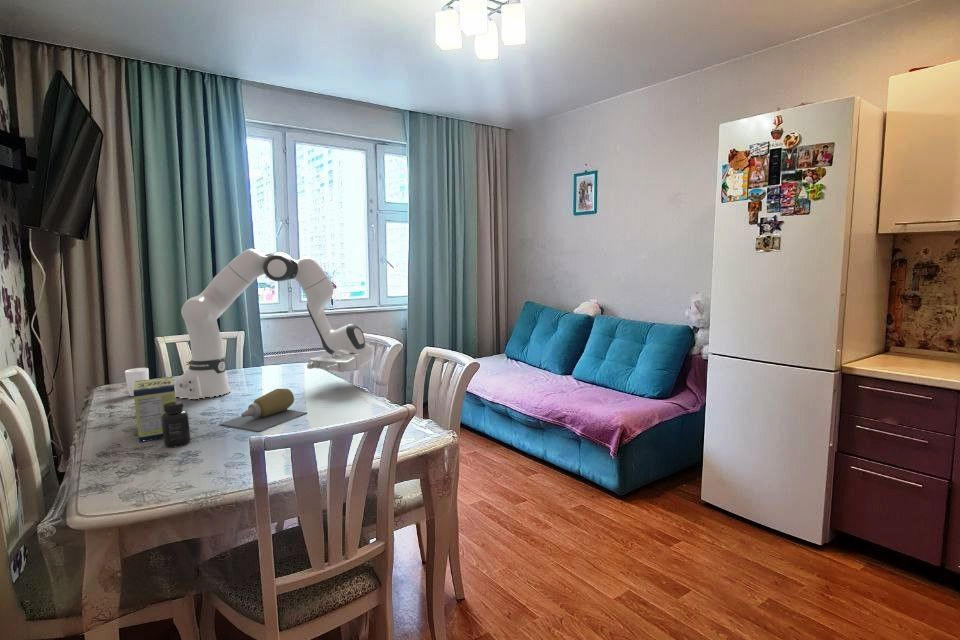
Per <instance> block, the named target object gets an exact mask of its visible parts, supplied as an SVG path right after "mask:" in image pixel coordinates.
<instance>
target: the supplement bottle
mask: <svg viewBox="0 0 960 640" xmlns="http://www.w3.org/2000/svg"><path fill="white" fill-rule="evenodd" d="M184 409H185V408H184V402H183V401H180V400H179V401H176V402H170V403H167V404H165V405H164V412H165V413H164V414H163V415H162V417H161V423H162V432H163V438H162V441H163V446H164V447H166V446H167V447H166V448H176V447H175V446H179V447H182V446H181V445H183V446H185V445H184V444H186V445H188V444H189V443H190V442H191V440H192V436H191V429H190V428H191V427H190V418H189V413H188V412H187V410H184ZM187 443H188V444H187Z"/></svg>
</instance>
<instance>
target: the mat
mask: <svg viewBox="0 0 960 640" xmlns="http://www.w3.org/2000/svg"><path fill="white" fill-rule="evenodd" d="M307 414H308V412H307V411H302V410H301V411H299V410H295V409H289V408H288V409H287V410H285V411H282V412H279V413H276V414H273V415H269V416H266V417H263V418H262V417H259V416H258V417H256V418H253V417H252V416H246V417H242V415H241V416H238V417H235V418H231V419H229V420H225V421H223V422H219V424H221V425H220V426H223V425H226V426H225V427H228V426H231V427H230V428H233V427H236V428H235V429H239V428H241V429H240V430H244V429H246V430H245V431H250V430H253V431H252V432H255V431H258V432H257V433H260V432H259V431H261V432H263V431H266V430H269V429H271V428H273V427H276V426H278V425H282V424H284V423H286V422H289V421H292V420H294V419H296V418H297V419H298V418H299V417H302V416H305V415H307ZM219 424H218V425H219ZM268 428H269V429H268ZM262 430H263V431H262Z"/></svg>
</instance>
